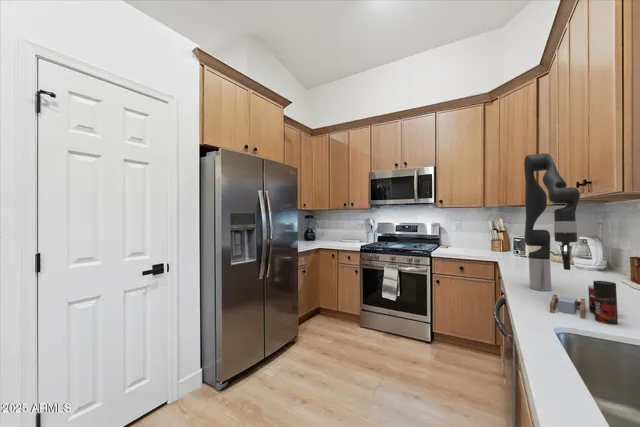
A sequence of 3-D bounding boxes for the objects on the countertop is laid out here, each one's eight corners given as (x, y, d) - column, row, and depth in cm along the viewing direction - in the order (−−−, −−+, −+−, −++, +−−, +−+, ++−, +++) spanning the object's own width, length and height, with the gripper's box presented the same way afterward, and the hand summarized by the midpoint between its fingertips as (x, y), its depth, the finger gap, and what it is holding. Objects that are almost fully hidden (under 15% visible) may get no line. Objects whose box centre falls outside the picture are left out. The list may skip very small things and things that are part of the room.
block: (561, 307, 117) (561, 296, 117) (577, 310, 113) (576, 298, 113) (558, 312, 112) (557, 300, 112) (574, 315, 108) (573, 303, 108)
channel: (554, 301, 125) (553, 294, 125) (585, 306, 117) (584, 298, 117) (550, 312, 111) (549, 304, 112) (584, 318, 104) (584, 309, 104)
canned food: (591, 309, 114) (590, 283, 114) (619, 314, 108) (617, 287, 108) (587, 313, 110) (586, 286, 110) (615, 318, 103) (614, 290, 103)
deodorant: (591, 319, 103) (589, 281, 103) (600, 317, 104) (599, 280, 105) (612, 325, 97) (610, 285, 97) (621, 323, 99) (619, 283, 99)
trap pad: (558, 303, 122) (558, 302, 123) (579, 306, 117) (579, 305, 117) (557, 305, 119) (557, 305, 119) (579, 309, 114) (579, 308, 114)
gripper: (555, 230, 126) (557, 266, 126) (553, 231, 117) (554, 270, 117) (577, 230, 121) (579, 268, 121) (576, 232, 112) (578, 272, 111)
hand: (567, 269), depth 119 cm, fingers closed
